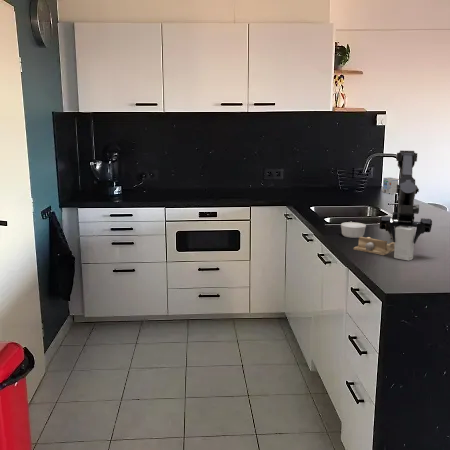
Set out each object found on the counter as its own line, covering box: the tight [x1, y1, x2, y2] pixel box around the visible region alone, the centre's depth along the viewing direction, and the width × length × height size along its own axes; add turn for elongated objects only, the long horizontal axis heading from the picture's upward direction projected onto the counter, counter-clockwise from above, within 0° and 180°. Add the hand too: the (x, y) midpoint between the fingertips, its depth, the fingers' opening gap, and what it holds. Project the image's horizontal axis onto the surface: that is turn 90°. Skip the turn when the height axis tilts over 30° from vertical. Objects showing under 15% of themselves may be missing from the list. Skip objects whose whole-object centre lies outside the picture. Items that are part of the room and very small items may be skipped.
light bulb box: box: [382, 177, 400, 195], centre depth 363 cm, size 11×7×11 cm, turn 17°
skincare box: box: [393, 226, 416, 262], centre depth 191 cm, size 6×4×12 cm
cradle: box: [353, 236, 395, 256], centre depth 206 cm, size 14×13×5 cm
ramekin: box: [340, 221, 367, 239], centre depth 229 cm, size 11×11×5 cm
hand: (404, 242), depth 189 cm, fingers closed on skincare box, 7 cm apart
